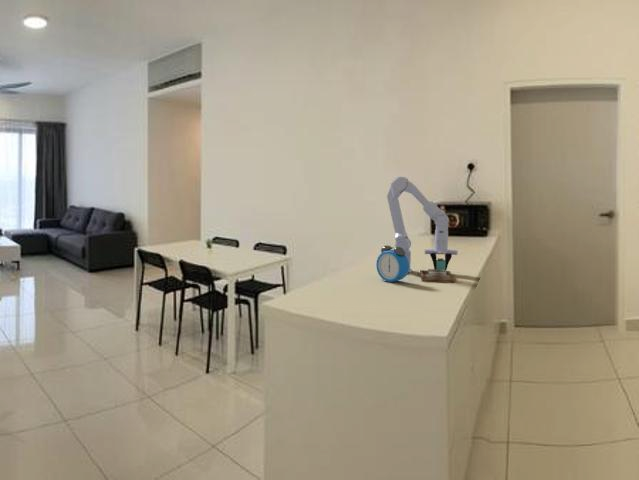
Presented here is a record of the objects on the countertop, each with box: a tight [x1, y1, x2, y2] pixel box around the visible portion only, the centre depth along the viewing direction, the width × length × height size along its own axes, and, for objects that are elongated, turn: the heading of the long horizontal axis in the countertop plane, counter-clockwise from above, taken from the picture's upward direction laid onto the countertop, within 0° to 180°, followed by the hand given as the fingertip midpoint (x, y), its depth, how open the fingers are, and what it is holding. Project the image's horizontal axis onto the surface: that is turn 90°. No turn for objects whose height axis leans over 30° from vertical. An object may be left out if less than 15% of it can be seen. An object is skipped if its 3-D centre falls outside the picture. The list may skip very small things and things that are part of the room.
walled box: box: [419, 268, 455, 283], centre depth 197 cm, size 13×13×4 cm
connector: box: [436, 257, 446, 271], centre depth 208 cm, size 4×4×7 cm
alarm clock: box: [376, 244, 409, 284], centre depth 191 cm, size 13×6×15 cm, turn 44°
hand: (440, 269), depth 208 cm, fingers closed on connector, 4 cm apart
